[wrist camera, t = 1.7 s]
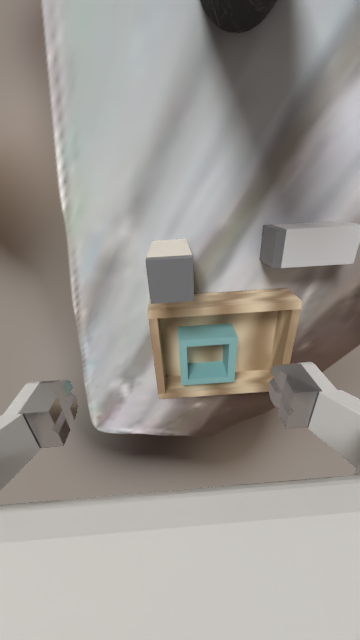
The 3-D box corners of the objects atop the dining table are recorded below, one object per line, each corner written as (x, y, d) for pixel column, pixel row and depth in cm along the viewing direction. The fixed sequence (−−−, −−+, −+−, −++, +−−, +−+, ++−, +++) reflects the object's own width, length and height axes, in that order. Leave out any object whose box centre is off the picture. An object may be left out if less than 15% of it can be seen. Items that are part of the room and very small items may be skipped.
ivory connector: (186, 238, 28) (193, 257, 20) (187, 272, 30) (194, 301, 22) (152, 240, 28) (145, 260, 20) (155, 274, 30) (150, 303, 22)
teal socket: (231, 323, 33) (237, 336, 30) (228, 365, 36) (234, 381, 33) (177, 326, 33) (178, 340, 30) (180, 368, 36) (181, 385, 33)
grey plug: (339, 220, 28) (364, 224, 24) (331, 255, 30) (353, 263, 26) (263, 225, 28) (276, 230, 24) (259, 259, 30) (271, 268, 26)
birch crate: (286, 288, 32) (302, 301, 28) (272, 370, 38) (283, 390, 34) (150, 296, 31) (147, 311, 28) (159, 378, 38) (159, 399, 34)
